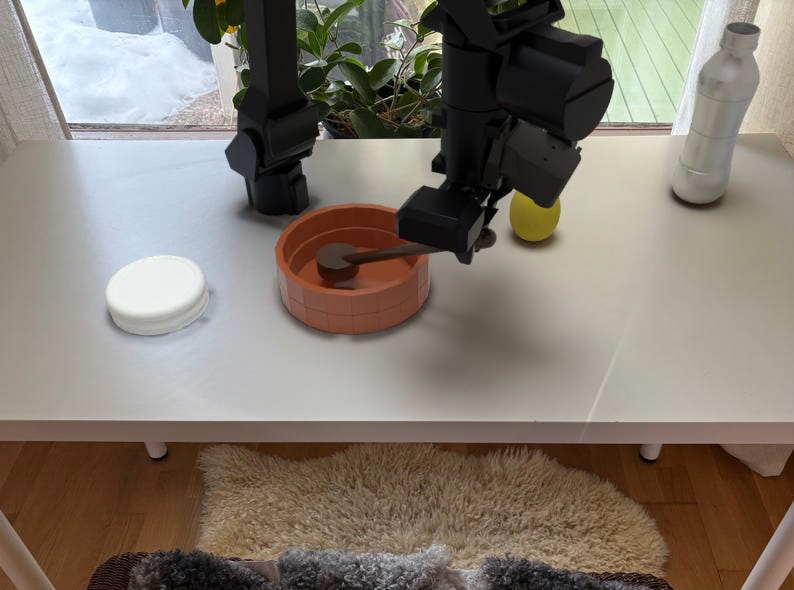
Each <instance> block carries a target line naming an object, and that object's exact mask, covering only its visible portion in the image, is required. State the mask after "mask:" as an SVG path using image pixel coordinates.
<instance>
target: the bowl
mask: <svg viewBox="0 0 794 590" xmlns="http://www.w3.org/2000/svg"><path fill="white" fill-rule="evenodd" d="M398 210H399V209H397V208H395V207H390V206H386V205H382V204H377V203H363V202H362V203H361V202H350V203H349V202H348V203H341V204H333V205H329V206H324V207H321V208H318V209H315V210H311V211H310V212H308V213H306V214H304V215H302V216H301V217H299V218H297V219H295V220H293V221H292V222H291V223H290V224H289V225H288V226H287V227H286V228H285V229H284V230H283V231H282V232H281V233H280V234H279V237H278V239H277V241H276V244H275V246H274V257H275V265H276V272H277V277H278V281H279V288H280V295H281V301H282V303H283V304H284V306H285V307H286V309H287V310H288V312H289V313H290V315H291V316H293V317H294V318H296V319H297V320H298V321H300V322H302V323H303V324H304V325H306V326H308V327H310V328H313V329H316V330H320V331H323V332H325V333H330V334H342V335H362V334H369V333H376V332H381V331H383V330H387V329H389V328H392V327H394V326H397V325H399V324H401V323H403V322H404V321H406V320H407V319H409V318H410V317H411V316H413V315H414V314H416V313H417V312H419V311H420V309H421V307H422V306H423V304H424V303H425V302H426V300H427V299H428V297H429V294H430V286H431V269H432V268H431V263H432V262H431V261H432V258H431V257H432V255H431V254H425V255H419V256H412V257H406V258H400V259H393V260H387V261H380V262H374V263H368V264H361V265H359V267H360V269H359V272H358V274H357V275H356V276H355V277H354V278H352V279H350V280H347V281H344V282H330V281H327V280H324V279H323V278H321V277H320V276H319V274H318V272H317V265H316V253H317V252H318V250H319V249H320V248H322V247H323V246H325V245H328V244H332V243H346V244H349V245H351V246H353V247H355V248H356V249H357V251H358V253H360V252H366V251H372V250H378V249H384V248H390V247H396V246H402V245H408V244H414V242H410V241H407V240H403V239H399V238H398V236H397V234H396V225H395V213H396V212H397V211H398Z"/></svg>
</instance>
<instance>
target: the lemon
mask: <svg viewBox="0 0 794 590" xmlns="http://www.w3.org/2000/svg"><path fill="white" fill-rule="evenodd" d="M561 206H562V205H561V198H560V197H559V198H558V199H557V201H556V202H555V204H554V206H553V207H552V208H542V207H540V206H538V205H536V204H535V203H534V201H533V200H532V199H530V198H528V197H527V196H525V195H523V194H521V193H520V192H518V191H516V190H515V191H514V193H513V195H512V198H511V201H510V205H509V213H508V215H509V216H508V218H509V223H510V226H511V228H512V230H513V232H514V233H515V234H516V235H517V236H518V237H519V238H520V239H522V240H525V241H527V242H540V241H543V240H545V239H547V238H548V237H550V236H551V235H552V234H553V233H554V231H555V230H556V228H557V226H558V225H559V221H560V218H561V211H562V207H561Z"/></svg>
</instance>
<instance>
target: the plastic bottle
mask: <svg viewBox="0 0 794 590" xmlns="http://www.w3.org/2000/svg"><path fill="white" fill-rule="evenodd" d="M761 31H762V29H761V27H760V26H758V25H756V24H754V23H751V22H748V21H747V22H746V21H733V22H729V23H727V24H726V25H725V26H724V28H723V31H722V36H721V37H720V39H719V42H718V46H719V47H720V49H719V50H717V51H716V52H715V53H714V54H713V55H711V57H710V58H708V59H707V61H706V62H705V63H704V64H702V67H701V69H700V70H699V72H698V74H697V78H696V86H695V95H694V104H693V109H692V116H691V122H690V125H689V131H688V133H687V136H686V139H685V141H684V145H683V148H682V150H681V154H680V155H679V157H678V159H677V161H676V163H675V165H674V168H673V171H672V175H671V187H672V189H673V191H674V193H675V195H676V196H677V197H678V198H680V199H681V200H683V201H685V202H687V203H691V204H697V205H699V204H700V205H705V204H710V203H713V202H715V201H717V199H719V198H721V197H722V196H723V194H724V193H725V191H726V189H727V187H728V185H729V183H730V178H731V172H732V160H733V157H734V152H735V151H734V150H735V147H736V142H737V138H738V135H739V133H740V129H741V127H742V125H743V122H744V119H745V116H746V114H747V112H748V109H749V108H750V106H751V103H752V101H753V99H754V97H755V95H756V93H757V90H758V88H759V85H760V83H761V82H760V78H761V77H760V74H761V73H760V70H759V65H758V62H757V61H756V57H755V56H754V52H756V51H757V49H758V46H759V40H760V36H761V33H762V32H761Z"/></svg>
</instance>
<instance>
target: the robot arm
mask: <svg viewBox="0 0 794 590" xmlns="http://www.w3.org/2000/svg"><path fill="white" fill-rule="evenodd" d="M435 1H436V5H435V6H433V8H432V9H431V10H429V11H428V12H427V13H426V14H424V15H423V16H421V18H420V26H421V27H422V28H424V29H428V30H429V31H432V32H435V33H438V34H439V35H441V76H440V77H441V79H440V80H441V81H440V83H441V85H440V90H441V91H440V105H439V106H438V107H437V108H436V109H435V110H434V111H432V114H431V127H435V128H439V129H440V143H439V144H440V145H439V146H440V147H439V149H440V150H439V151H438V153H437V154H436V155H435V156H434V157H433V159H432V160H431V168H430V171H431V173H434V174H435V173H436V174H440V175H444V176H445V179H444V181H443V182H442V183H441V184H440V185H439V186H438V188H437V187H432V186H429V185H425V184H424V185H421V186H420V187H419V188H418V189H416V190H415V191H413V192H412V193H411V194H410V196H409V197H408V198H407V199H406V201H405V202H404V203H403V204H402V205H401V206H400V207H399V208H398V209H397V210H398V211H397V212H396V213H395V225H396V234H397V236H398V238H399V239H403V240H407V241H410V242H414V243H418V244H422V245H426V246H429V247H433V248H437V249H441V250H444V252H449V253H453V255H455V258H456V259H457V261H458V262H459V263H460V264H463V265H466V266H470V265H471V264H472V263H473V260H474V255H475V253H477V254H478V253H480V251H481V249H479V250H475V248H476V244H477V240H478V236H479V235H480V231H481V229H483V228H490V224H491V221H492V220H493V219H494V218H495V216H496V214H497V213H498V212H499V208H498V207H497V205H498V203H499V201H500V200H501V199H503V198H505V197H506V196H508V195H510V194H511V193H512V191H513V190H514V191H515V192H516V191H518V192H520V193H521V194H523V195H525V196H527V197H528V198H530V199H532V200H533V201H534V203H535V204H536V205H538V206H540V207H542V208H552V207H553V206H554V204H555V202H556V201H557V199H558V198H560V196H561V194H562V193H563V191H564V190H565V188H566V186H567V184H568V183H569V182H570V180H571V178H572V176H573V175H574V173H575V171H576V170H577V168H578V166H579V164H580V163H581V161H582V155H581V152H582V150H583V147H581V146H579V145H578V142H580V141H582V140H584V139H586V138H588V137H589V136H590V135H591V134H592V133H593V132H594V131H595V130H596V128H597V127H598V126H599V125H600V123H601V121H602V120H603V118H604V116H605V114H606V113H607V111H608V108H609V105H610V103H611V100H612V97H613V94H614V90H615V83H616V81H615V79H614V78H613V69H612V65H611V63H610V62H609V60H608V59H606V58H605V57H602V56H603V55H602V54H603V49H604V41H603V38H601V37H597V36H594V35H591V34H586V33H585V34H584V33H583V34H581V33H575V32H573V31H569V30H567V29H564V28H560V27H557V26H554V25H553V24H555V23H558V22H560V21H562V20H563V19H565V17H566V11H565V9H564V7H563V4H562V1H561V0H525V2H524V3H521V4H519V5H516V6H514V7H511V8H509V9H506V10H505V11H502V12H500V13H494V12H492V11H489V9H490V8H493V7H496V6H498V5H501V4H503V3H505V2H507V1H509V0H435ZM243 9H244V21H245V34H246V35H245V36H246V45H247V59H248V70H249V84H248V86H247V88H246V90H245V92H244V94H243V96H242V97H241V101H240V103H239V104H238V106H237V113H236V114H237V115H236V117H237V118H236V132H237V133H236V135H235V136H234V137H233V139H232V140H231V141H230V142H229V144H228V145H227V147H226V148H225V149H224V155H225V159H226V160H227V163H228V165H229V168H230V169H231V170H232V171H233V172H235V173H236V174H239V176H242V177H243V178H244V183H245V189H246V194H247V201H248V205H250V206H253V207H254V209H255V211H256V212H257V213H259V214H261V215H263V216H267V217H281V216H285V215H287V216H291V217H292V216H299V215H301V213H303V212H304V211H305V210H306V208H308V206H310V199H309V189H308V181H307V175H306V174H304V172H303V165H302V164H303V163H302V160H304V159H306V158H309V157H312V156H313V151H314V146H315V144H316V142H317V138H318V137H320V136H321V132H320V128H319V115H320V114H319V113H320V109H319V106H318V104H316V103H315V102H312V101H311V100H310V99H309V97H308V95H307V94H306V93H305V92H304V90H303V89H302V88H301V86H300V83H299V57H298V24H297V23H298V21H297V20H298V19H297V18H298V17H297V0H243Z"/></svg>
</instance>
